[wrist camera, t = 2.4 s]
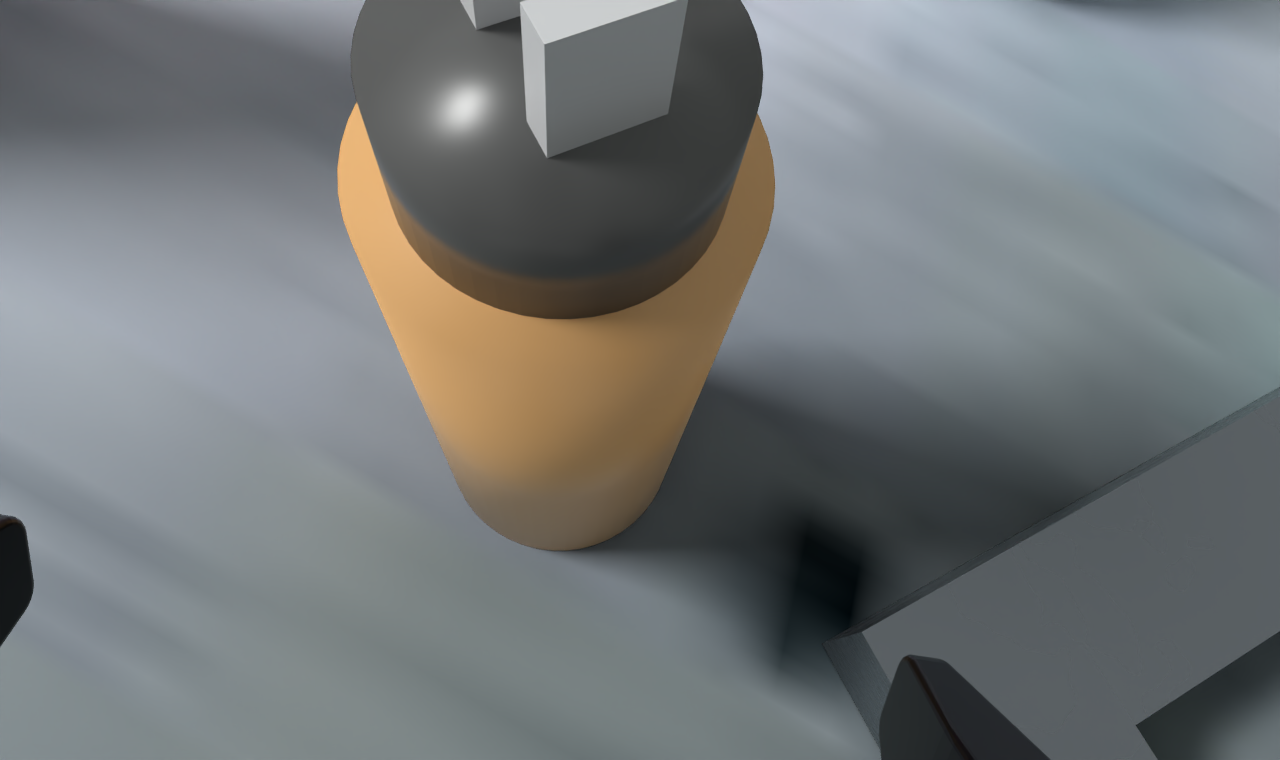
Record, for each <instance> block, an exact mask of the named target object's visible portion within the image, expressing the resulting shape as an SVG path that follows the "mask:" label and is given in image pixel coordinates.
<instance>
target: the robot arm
mask: <svg viewBox="0 0 1280 760" xmlns="http://www.w3.org/2000/svg"><path fill="white" fill-rule="evenodd" d="M33 587H34V580H33V573H32V567H31V560H30V553H29V547H28V540H27V533H26V529H25V526H24V525H23V523H22V522H21V521H20V520H19V519H17V518H16V517H13V516H8V515H2V514H0V647H1V645H2V644H3V642H4V641H5V639H6V638H7V636H8V635H9V634H10V632H11V631H12V629H13V628H14V626H15V625H16V623H17V622H18V621H19V619H20V618H21V616H22V615H23V613H24V612H25V610H26V609H27V607H28V605H29V603H30V600H31V598H32V594H33ZM879 742H880V751H881V759H882V760H1051V759H1050V758H1049V757H1047V756H1046V755H1045V754H1044V753H1043V752H1042V751H1041V750H1040V749H1039V748H1038V747H1037V746H1036V745H1035V744H1034V743H1033V742H1032V741H1031V740H1029V739H1028V738H1027V737H1026V736H1025V735H1024V734H1023V733H1022V732H1021V731H1020V730H1019V729H1018V728H1017V727H1016V726H1015V725H1014V724H1012V723H1011V722H1010V721H1009V720H1008V719H1007V718H1006V717H1005V716H1004V715H1003V714H1002V713H1001V712H1000V711H999V710H998V709H997V708H996V707H994V706H993V705H992V704H991V703H990V702H989V701H988V700H987V699H986V698H985V697H984V696H983V695H982V694H981V693H980V692H979V691H978V690H976V689H975V688H974V687H973V686H972V685H971V684H970V683H969V682H968V681H967V680H966V679H965V678H964V677H963V676H962V675H961V674H959V673H958V672H957V671H956V670H955V669H954V668H953V667H952V666H951V665H950V664H949V663H947V662H946V661H944V660H942V659H938V658H931V657H925V656H918V655H907V656H905V657H903V658H902V660H901V661H900V663H899V665H898V667H897V670H896V673H895V675H894V678H893V681H892V684H891V687H890V689H889V692H888V695H887V698H886V701H885V703H884V706H883V709H882V712H881V716H880V721H879Z"/></svg>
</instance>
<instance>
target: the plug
mask: <svg viewBox="0 0 1280 760" xmlns="http://www.w3.org/2000/svg"><path fill="white" fill-rule="evenodd" d="M351 77H352V82H353V87H354V92H355V97H356V101H357V102H356V104H355V106H354V108H353V111H352V113H351V115H350V117H349V119H348V121H347V125H346V128H345V131H344V135H343V138H342V141H341V145H340V153H339V160H338V168H337V173H338V196H339V201H340V207H341V212H342V217H343V220H344V223H345V226H346V229H347V232H348V234H349V237H350V240H351V243H352V245H353V247H354V250H355V252H356V254H357V256H358V259H359V261H360V263H361V266H362V268H363V270H364V272H365V275H366V277H367V279H368V281H369V284H370V286H371V288H372V291H373V293H374V295H375V297H376V300H377V302H378V304H379V307H380V309H381V311H382V313H383V316H384V318H385V320H386V322H387V325H388V327H389V329H390V332H391V334H392V336H393V338H394V341H395V343H396V345H397V347H398V350H399V352H400V354H401V357H402V359H403V361H404V363H405V366H406V368H407V370H408V373H409V375H410V377H411V379H412V382H413V384H414V386H415V388H416V391H417V393H418V395H419V398H420V400H421V402H422V404H423V407H424V409H425V411H426V413H427V416H428V418H429V420H430V423H431V425H432V427H433V429H434V432H435V434H436V436H437V438H438V441H439V443H440V445H441V448H442V450H443V452H444V454H445V457H446V459H447V461H448V464H449V466H450V468H451V470H452V473H453V475H454V477H455V479H456V482H457V484H458V486H459V488H460V490H461V492H462V494H463V496H464V498H465V500H466V501H467V503H468V504H469V505H470V507H471V508H472V510H473V511H474V512H475V513H476V514H477V515H478V516H479V517H480V518H481V519H482V521H483V522H484V523H486V524H487V525H488V526H490V527H491V528H492V529H493V530H495V531H496V532H498V533H499V534H501V535H503V536H504V537H506V538H508V539H510V540H512V541H515V542H517V543H519V544H522V545H525V546H529V547H533V548H536V549H544V550H551V551H567V550H574V549H581V548H585V547H589V546H593V545H596V544H599V543H601V542H603V541H606V540H608V539H610V538H612V537H614V536H616V535H617V534H619V533H621V532H622V531H624V530H625V529H626V528H628V527H629V526H630V525H631V524H633V523H634V522H635V521H636V520H637V519H638V518H639V517H640V516H641V515H642V514H643V513H644V512H645V510H646V509H647V508H648V506H649V505H650V504H651V502H652V501H653V499H654V497H655V496H656V494H657V492H658V490H659V488H660V486H661V484H662V481H663V479H664V477H665V474H666V472H667V470H668V467H669V465H670V462H671V460H672V458H673V455H674V453H675V451H676V448H677V446H678V444H679V441H680V439H681V437H682V434H683V432H684V430H685V427H686V425H687V423H688V420H689V418H690V416H691V413H692V411H693V409H694V406H695V404H696V402H697V399H698V397H699V395H700V392H701V390H702V388H703V385H704V383H705V381H706V378H707V376H708V373H709V371H710V369H711V366H712V364H713V362H714V359H715V357H716V355H717V352H718V350H719V348H720V345H721V343H722V341H723V338H724V336H725V334H726V331H727V329H728V327H729V324H730V322H731V320H732V317H733V315H734V313H735V310H736V308H737V306H738V303H739V301H740V299H741V296H742V294H743V292H744V289H745V287H746V284H747V282H748V280H749V277H750V275H751V273H752V270H753V268H754V266H755V263H756V261H757V259H758V256H759V254H760V251H761V249H762V246H763V244H764V241H765V239H766V236H767V234H768V231H769V226H770V222H771V217H772V213H773V209H774V194H775V177H774V165H773V159H772V154H771V150H770V146H769V142H768V138H767V135H766V133H765V130H764V128H763V125H762V123H761V120H760V118H759V115H758V114H757V111H758V107H759V103H760V99H761V94H762V82H763V68H762V56H761V50H760V46H759V42H758V38H757V34H756V31H755V29H754V26H753V24H752V21H751V19H750V17H749V14H748V12H747V10H746V9H745V7H744V5H743V4H742V2H741V0H366V1H365V3H364V5H363V8H362V10H361V12H360V14H359V17H358V21H357V24H356V27H355V30H354V34H353V41H352V49H351Z"/></svg>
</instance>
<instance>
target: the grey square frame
mask: <svg viewBox="0 0 1280 760" xmlns="http://www.w3.org/2000/svg"><path fill="white" fill-rule="evenodd" d="M1279 631H1280V387H1279V388H1278V389H1276V390H1274V391H1272V392H1270V393H1269V394H1267V395H1265V396H1263V397H1261V398H1260V399H1258V400H1256V401H1254V402H1253V403H1251V404H1249V405H1247V406H1245V407H1244V408H1242V409H1240V410H1238V411H1236V412H1235V413H1233V414H1231V415H1229V416H1228V417H1226V418H1224V419H1222V420H1220V421H1219V422H1217V423H1215V424H1213V425H1211V426H1210V427H1208V428H1206V429H1204V430H1203V431H1201V432H1199V433H1197V434H1195V435H1194V436H1192V437H1190V438H1188V439H1186V440H1185V441H1183V442H1181V443H1179V444H1177V445H1176V446H1174V447H1172V448H1170V449H1169V450H1167V451H1165V452H1163V453H1161V454H1160V455H1158V456H1156V457H1154V458H1152V459H1151V460H1149V461H1147V462H1145V463H1144V464H1142V465H1140V466H1138V467H1136V468H1135V469H1133V470H1131V471H1129V472H1127V473H1126V474H1124V475H1122V476H1120V477H1119V478H1117V479H1115V480H1113V481H1111V482H1110V483H1108V484H1106V485H1104V486H1102V487H1101V488H1099V489H1097V490H1095V491H1094V492H1092V493H1090V494H1088V495H1086V496H1085V497H1083V498H1081V499H1079V500H1077V501H1076V502H1074V503H1072V504H1070V505H1068V506H1067V507H1065V508H1063V509H1061V510H1060V511H1058V512H1056V513H1054V514H1052V515H1051V516H1049V517H1047V518H1045V519H1043V520H1042V521H1040V522H1038V523H1036V524H1035V525H1033V526H1031V527H1029V528H1027V529H1026V530H1024V531H1022V532H1020V533H1018V534H1017V535H1015V536H1013V537H1011V538H1010V539H1008V540H1006V541H1004V542H1002V543H1001V544H999V545H997V546H995V547H993V548H992V549H990V550H988V551H986V552H985V553H983V554H981V555H979V556H977V557H976V558H974V559H972V560H970V561H968V562H967V563H965V564H963V565H961V566H959V567H958V568H956V569H954V570H952V571H951V572H949V573H947V574H945V575H943V576H942V577H940V578H938V579H936V580H934V581H933V582H931V583H929V584H927V585H926V586H924V587H922V588H920V589H918V590H917V591H915V592H913V593H911V594H909V595H908V596H906V597H904V598H902V599H901V600H899V601H897V602H895V603H893V604H892V605H890V606H888V607H886V608H884V609H883V610H881V611H879V612H877V613H876V614H874V615H872V616H870V617H868V618H867V619H865V620H863V621H861V622H859V623H858V624H856V625H854V626H852V627H850V628H849V629H847V630H845V631H843V632H842V633H840V634H838V635H836V636H834V637H833V638H831V639H829V640H827V641H825V642H824V643H822V645H823V647H824V648H825V650H826V652H827V654H828V656H829V658H830V659H831V661H832V663H833V665H834V667H835V668H836V670H837V672H838V674H839V676H840V677H841V679H842V681H843V683H844V685H845V686H846V688H847V690H848V692H849V694H850V696H851V697H852V699H853V701H854V703H855V705H856V706H857V708H858V710H859V712H860V714H861V715H862V717H863V719H864V721H865V723H866V724H867V726H868V728H869V730H870V732H871V733H872V735H873V737H874V739H875V741H876V743H877V744H878V746H879V748H880V742H879V721H880V716H881V712H882V709H883V706H884V703H885V701H886V698H887V695H888V692H889V689H890V687H891V684H892V681H893V678H894V675H895V673H896V670H897V667H898V665H899V663H900V661H901V660H902V658H903V657H905V656H907V655H918V656H925V657H931V658H938V659H942V660H944V661H946V662H947V663H949V664H950V665H951V666H952V667H953V668H954V669H955V670H956V671H957V672H958V673H959V674H961V675H962V676H963V677H964V678H965V679H966V680H967V681H968V682H969V683H970V684H971V685H972V686H973V687H974V688H975V689H976V690H978V691H979V692H980V693H981V694H982V695H983V696H984V697H985V698H986V699H987V700H988V701H989V702H990V703H991V704H992V705H993V706H994V707H996V708H997V709H998V710H999V711H1000V712H1001V713H1002V714H1003V715H1004V716H1005V717H1006V718H1007V719H1008V720H1009V721H1010V722H1011V723H1012V724H1014V725H1015V726H1016V727H1017V728H1018V729H1019V730H1020V731H1021V732H1022V733H1023V734H1024V735H1025V736H1026V737H1027V738H1028V739H1029V740H1031V741H1032V742H1033V743H1034V744H1035V745H1036V746H1037V747H1038V748H1039V749H1040V750H1041V751H1042V752H1043V753H1044V754H1045V755H1046V756H1047V757H1049V758H1050V759H1051V760H1158V759H1157V758H1156V756H1155V755H1154V753H1153V752H1152V750H1151V748H1150V747H1149V745H1148V744H1147V742H1146V741H1145V739H1144V738H1143V736H1142V735H1141V733H1140V731H1139V730H1138V728H1137V727H1136V725H1137V724H1138V723H1140V722H1141V721H1143V720H1144V719H1146V718H1148V717H1149V716H1151V715H1152V714H1154V713H1155V712H1157V711H1158V710H1160V709H1161V708H1163V707H1164V706H1166V705H1167V704H1169V703H1171V702H1172V701H1174V700H1175V699H1177V698H1178V697H1180V696H1181V695H1183V694H1184V693H1186V692H1187V691H1189V690H1190V689H1192V688H1193V687H1195V686H1197V685H1198V684H1200V683H1201V682H1203V681H1204V680H1206V679H1207V678H1209V677H1210V676H1212V675H1213V674H1215V673H1216V672H1218V671H1219V670H1221V669H1223V668H1224V667H1226V666H1227V665H1229V664H1230V663H1232V662H1233V661H1235V660H1236V659H1238V658H1239V657H1241V656H1242V655H1244V654H1246V653H1247V652H1249V651H1250V650H1252V649H1253V648H1255V647H1256V646H1258V645H1259V644H1261V643H1262V642H1264V641H1265V640H1267V639H1268V638H1270V637H1272V636H1273V635H1275V634H1276V633H1278V632H1279Z"/></svg>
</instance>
